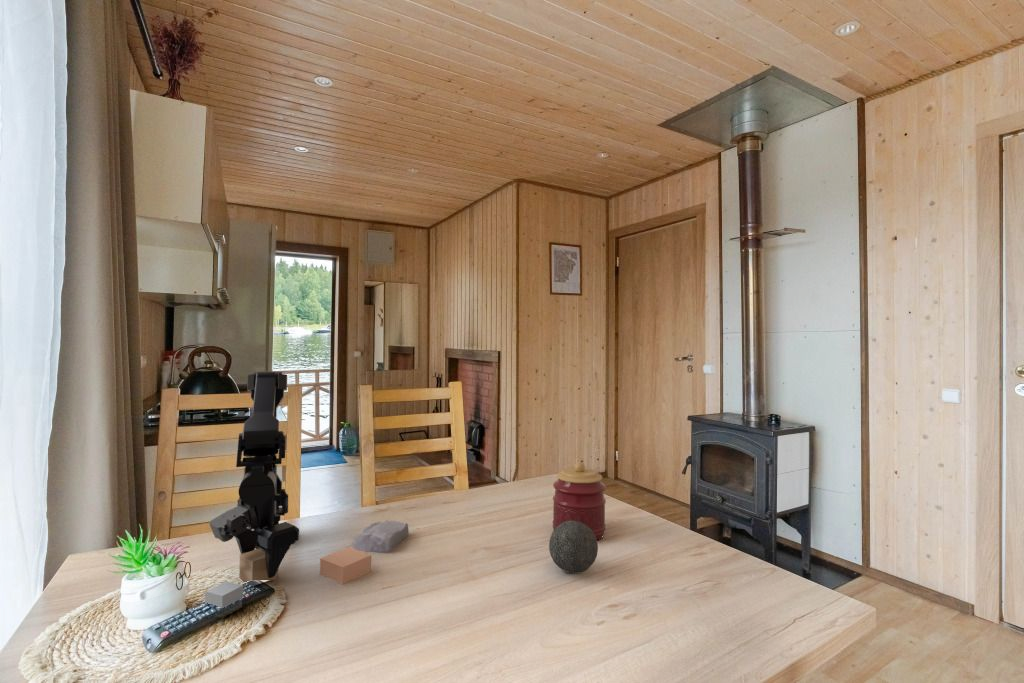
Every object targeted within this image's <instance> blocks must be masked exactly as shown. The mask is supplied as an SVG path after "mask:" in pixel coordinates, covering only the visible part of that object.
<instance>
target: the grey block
mask: <svg viewBox="0 0 1024 683" xmlns="http://www.w3.org/2000/svg"><path fill="white" fill-rule="evenodd" d="M204 595H205V596H204V605H205V604H207V603H208V604H213V605H216V606H218V607H220V608H224V607H226V606H228V605H230V604H231V603H233V602H235V601H237V600H239V599H241V598H242V597H243V598H244V585H242V584H239V583H236V582H235V583H234V582H233V581H232V582H231V581H228V580H226V581H224V582H222V583H220V584H218V585H216V586H213V587H212V588H210V589H207V590H206V591H205V593H204Z"/></svg>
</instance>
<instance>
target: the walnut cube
mask: <svg viewBox="0 0 1024 683" xmlns="http://www.w3.org/2000/svg"><path fill="white" fill-rule="evenodd" d="M238 575H239V578H240V579H241V580H242V581H243V582H247V581H251V580H271V581H273V580H276V579H278V578H279V569H278V570H277V572H276V574H275V576H274V577H271V578H268V575H267V568H266V558H265V552H264V551H262V550H261V549H259V548H255V550H253V551H250V552H247V553H244V554H241V553H240V554H239V574H238ZM242 581H241V582H242ZM243 582H242V583H243Z"/></svg>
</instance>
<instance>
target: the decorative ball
mask: <svg viewBox="0 0 1024 683" xmlns="http://www.w3.org/2000/svg"><path fill="white" fill-rule="evenodd" d="M548 542H549V544H548V549H549V554H550V557H551V559H552V561H553V563H554V564H555V565H556V566H557V567H558V568H560V569H561V570H562V571H564V572H566V573H570V574H579V573H582V572H584V571H587V570H588V569H589V568H590V567H592V565H593V564H594V562H595V561H596V558H597V556H598V551H599V546H598V545H599V544H598V540H597V539H596V537H595V534H594V533H593V531H592V530H591V529H590V528H589V527H588V526H587V525H585V524H583V523H581V522H578V521H566V522H564V523H562V524H560V525H559V526H557V527H556V528H555V530H552V532H551V535H550V537H549V541H548Z"/></svg>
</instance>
